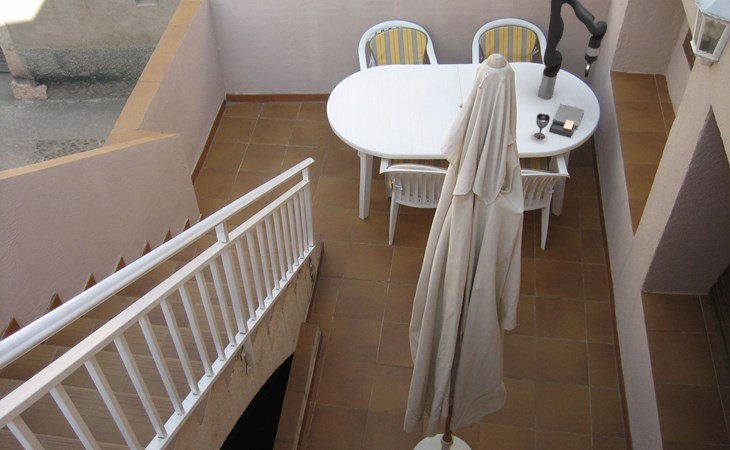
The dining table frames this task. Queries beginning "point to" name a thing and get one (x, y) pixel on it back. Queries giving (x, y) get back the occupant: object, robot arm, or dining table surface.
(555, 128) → the tray
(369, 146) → the dining table surface
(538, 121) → the wine glass
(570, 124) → the tile rear
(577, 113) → the slate ledge
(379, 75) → the dining table surface
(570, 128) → the tile front
